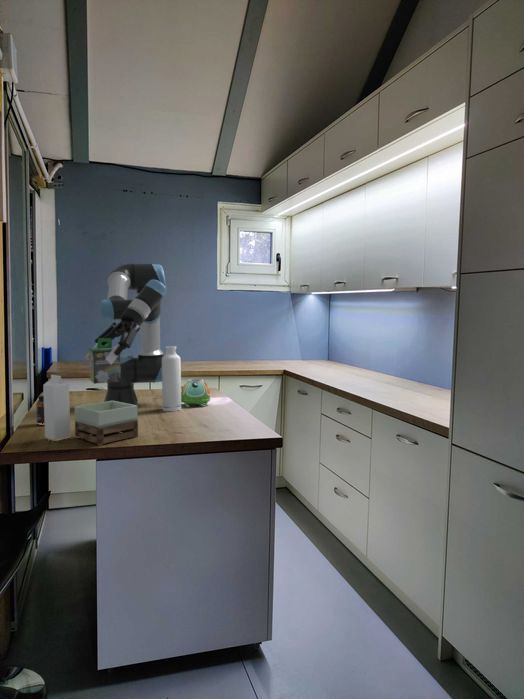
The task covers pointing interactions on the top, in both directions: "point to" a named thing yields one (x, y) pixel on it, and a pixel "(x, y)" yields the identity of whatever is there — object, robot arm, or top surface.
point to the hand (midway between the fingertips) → (98, 360)
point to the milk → (56, 408)
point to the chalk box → (104, 364)
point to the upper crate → (106, 413)
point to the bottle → (171, 380)
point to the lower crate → (106, 432)
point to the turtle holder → (195, 392)
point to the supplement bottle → (40, 409)
